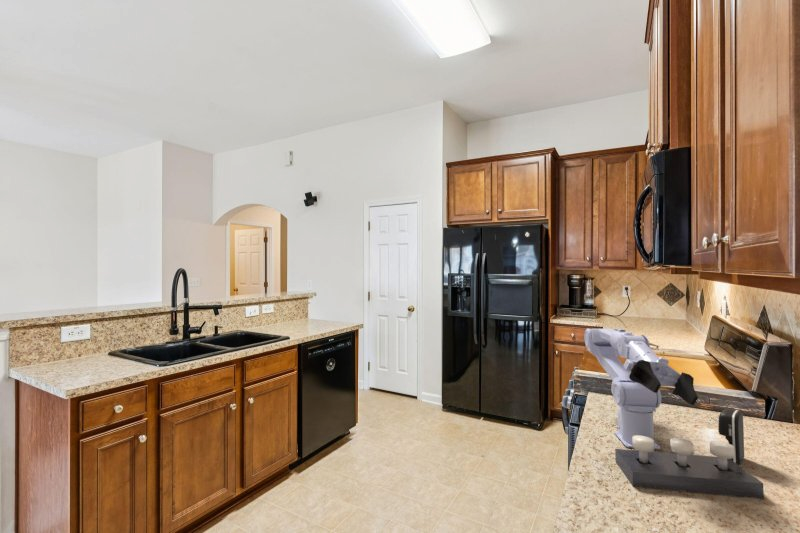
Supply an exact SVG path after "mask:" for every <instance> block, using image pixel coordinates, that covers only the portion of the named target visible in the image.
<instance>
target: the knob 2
mask: <svg viewBox="0 0 800 533" xmlns="http://www.w3.org/2000/svg"><path fill="white" fill-rule="evenodd" d="M709 453H710V454H711V455H713V456H714V457H717V460H718V468H719V469H722V470H728V467H727V459H733V458H735V452H734V446H733V445H731V444H729V442H725V441H719V440H710V441H709Z"/></svg>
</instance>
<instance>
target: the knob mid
mask: <svg viewBox="0 0 800 533" xmlns="http://www.w3.org/2000/svg"><path fill="white" fill-rule="evenodd" d="M669 443H670V450H671V452H672V453H675V454H677V456H678V465H679V466H683V467H687V456H690V455H695V454H694V443H693V442H692V441H690V440H688V439H685V438H681V437H680V438H679V437H673V438H670V442H669Z"/></svg>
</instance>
